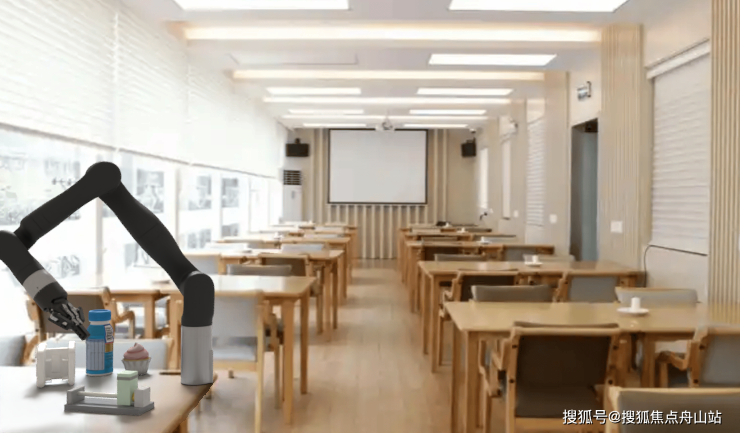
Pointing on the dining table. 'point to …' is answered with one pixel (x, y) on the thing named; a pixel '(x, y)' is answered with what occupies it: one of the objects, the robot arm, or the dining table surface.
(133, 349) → the cupcake
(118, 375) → the notched mint block
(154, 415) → the dining table surface
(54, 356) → the white plastic stand
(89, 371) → the beverage bottle
